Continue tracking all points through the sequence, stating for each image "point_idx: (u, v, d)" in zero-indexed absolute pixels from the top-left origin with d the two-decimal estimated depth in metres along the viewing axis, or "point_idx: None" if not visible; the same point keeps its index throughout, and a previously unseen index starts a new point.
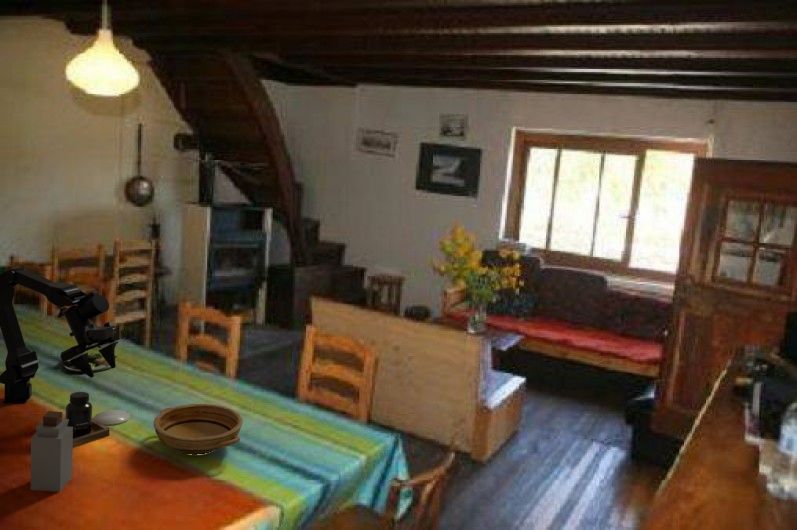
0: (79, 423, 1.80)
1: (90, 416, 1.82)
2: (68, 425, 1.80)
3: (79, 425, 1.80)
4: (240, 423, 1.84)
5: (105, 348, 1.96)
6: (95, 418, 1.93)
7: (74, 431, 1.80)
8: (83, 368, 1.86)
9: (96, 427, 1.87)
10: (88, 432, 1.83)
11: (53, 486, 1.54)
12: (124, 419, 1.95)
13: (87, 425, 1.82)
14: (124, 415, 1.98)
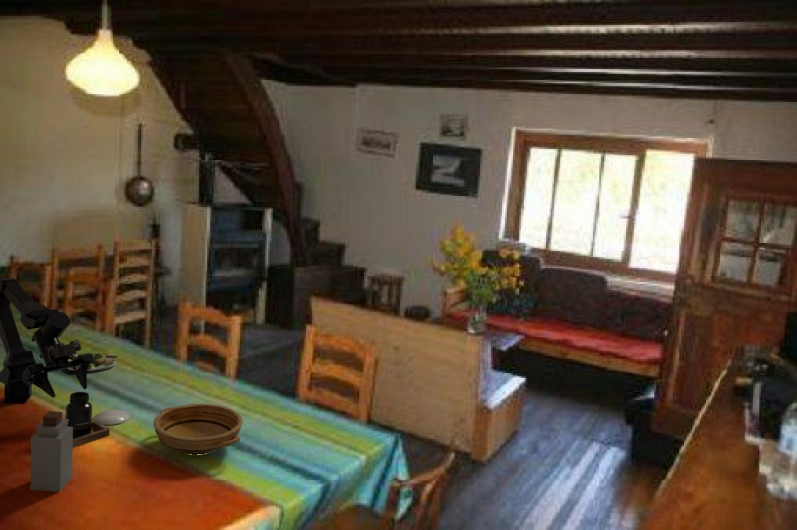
0: (79, 423, 1.80)
1: (90, 416, 1.82)
2: (68, 425, 1.80)
3: (79, 425, 1.80)
4: (240, 423, 1.84)
5: (78, 369, 1.90)
6: (95, 418, 1.93)
7: (74, 431, 1.80)
8: (45, 388, 1.80)
9: (96, 427, 1.87)
10: (88, 432, 1.83)
11: (53, 486, 1.54)
12: (124, 419, 1.95)
13: (87, 425, 1.82)
14: (124, 415, 1.98)
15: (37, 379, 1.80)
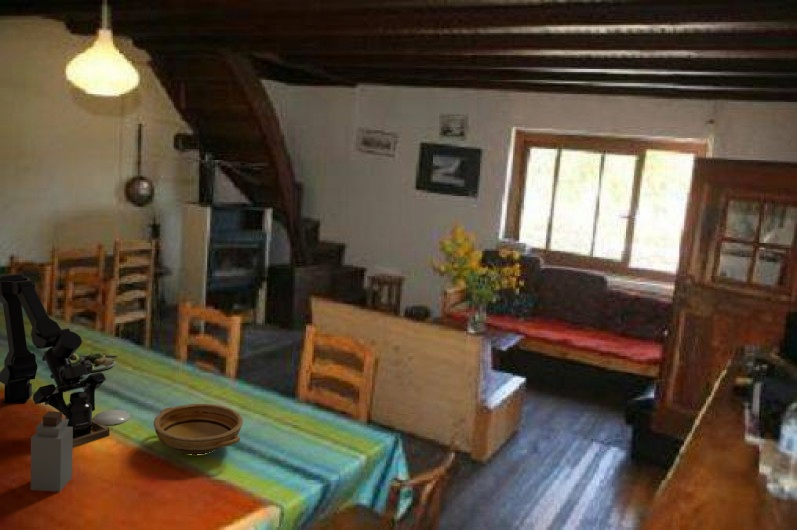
0: (79, 423, 1.80)
1: (90, 416, 1.82)
2: (68, 425, 1.80)
3: (79, 425, 1.80)
4: (240, 423, 1.84)
5: (86, 390, 1.87)
6: (95, 418, 1.93)
7: (74, 431, 1.80)
8: (60, 408, 1.79)
9: (96, 427, 1.87)
10: (88, 432, 1.83)
11: (53, 486, 1.54)
12: (124, 419, 1.95)
13: (87, 425, 1.82)
14: (124, 415, 1.98)
15: (52, 399, 1.79)
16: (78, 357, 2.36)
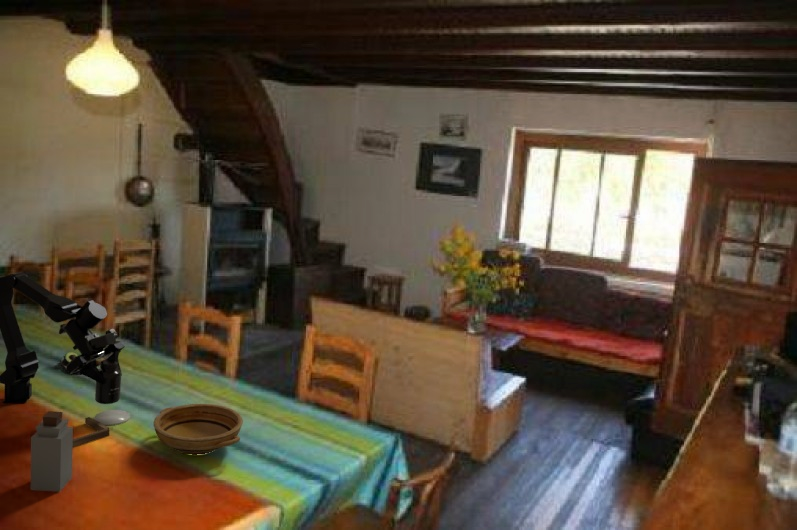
0: (113, 388, 1.89)
1: (120, 381, 1.92)
2: (102, 391, 1.88)
3: (113, 390, 1.90)
4: (240, 423, 1.84)
5: (109, 358, 1.95)
6: (95, 418, 1.93)
7: (108, 396, 1.89)
8: (94, 376, 1.87)
9: (96, 427, 1.87)
10: (119, 396, 1.93)
11: (53, 486, 1.54)
12: (124, 419, 1.95)
13: (119, 390, 1.92)
14: (124, 415, 1.98)
15: (85, 368, 1.86)
16: None
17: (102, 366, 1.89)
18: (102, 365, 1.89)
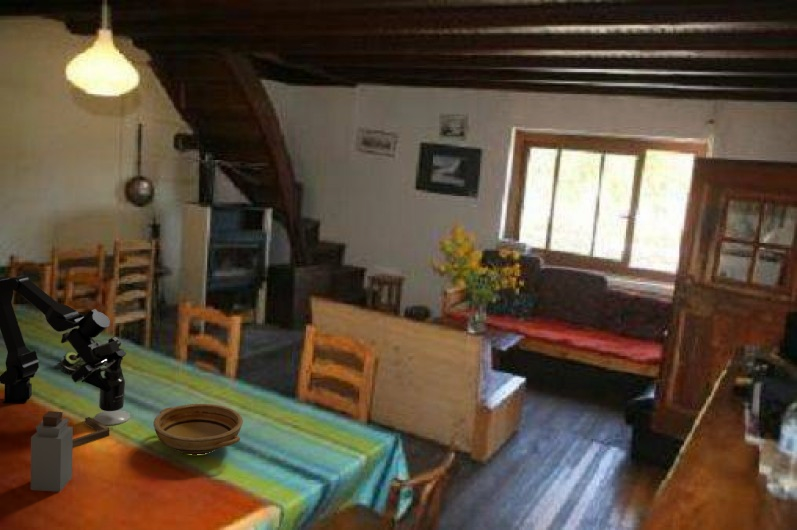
0: (117, 395, 1.92)
1: (124, 388, 1.95)
2: (107, 399, 1.91)
3: (118, 397, 1.92)
4: (240, 423, 1.84)
5: (111, 366, 1.98)
6: (95, 418, 1.93)
7: (113, 403, 1.92)
8: (99, 384, 1.90)
9: (96, 427, 1.87)
10: (123, 403, 1.95)
11: (53, 486, 1.54)
12: (124, 419, 1.95)
13: (123, 397, 1.95)
14: (124, 415, 1.98)
15: (90, 376, 1.88)
16: None
17: (106, 374, 1.91)
18: (106, 373, 1.91)
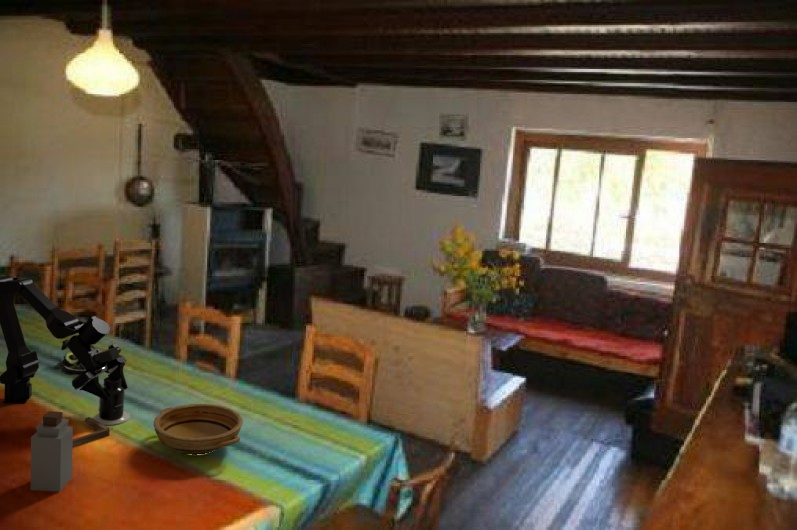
0: (117, 404, 1.93)
1: None
2: (106, 408, 1.92)
3: (117, 407, 1.93)
4: (240, 423, 1.84)
5: (114, 371, 1.99)
6: (95, 418, 1.93)
7: (113, 413, 1.92)
8: (97, 392, 1.89)
9: (96, 427, 1.87)
10: None
11: (53, 486, 1.54)
12: (124, 419, 1.95)
13: (122, 406, 1.95)
14: (124, 415, 1.98)
15: (88, 384, 1.88)
16: None
17: (106, 383, 1.92)
18: (106, 382, 1.92)
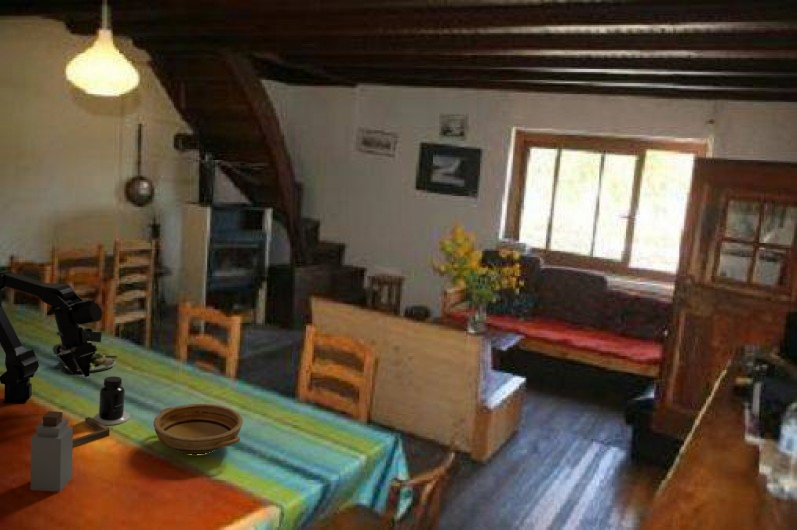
0: (117, 404, 1.93)
1: None
2: (106, 408, 1.92)
3: (117, 407, 1.93)
4: (240, 423, 1.84)
5: (68, 354, 2.00)
6: (95, 418, 1.93)
7: (113, 413, 1.92)
8: (84, 366, 1.93)
9: (96, 427, 1.87)
10: None
11: (53, 486, 1.54)
12: (124, 419, 1.95)
13: (122, 406, 1.95)
14: (124, 415, 1.98)
15: (83, 356, 1.92)
16: None
17: (106, 383, 1.92)
18: (106, 382, 1.92)
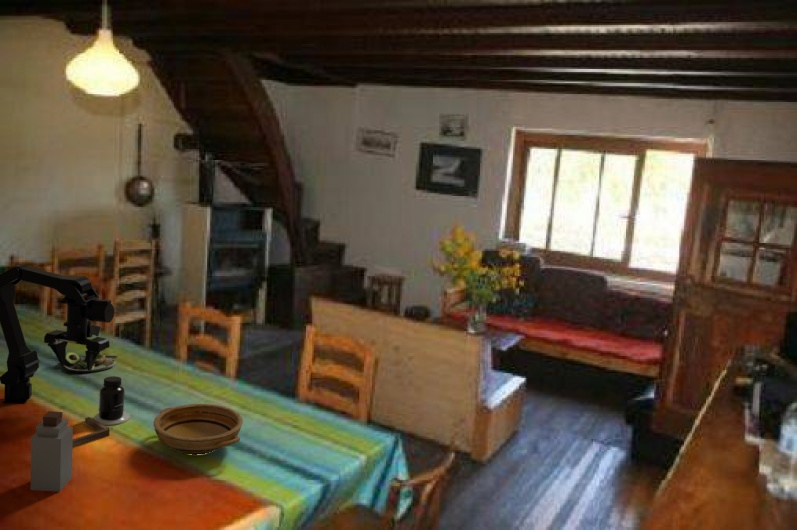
0: (117, 404, 1.93)
1: None
2: (106, 408, 1.92)
3: (117, 407, 1.93)
4: (240, 423, 1.84)
5: (61, 344, 1.98)
6: (95, 418, 1.93)
7: (113, 413, 1.92)
8: (91, 360, 1.96)
9: (96, 427, 1.87)
10: (122, 412, 1.96)
11: (53, 486, 1.54)
12: (124, 419, 1.95)
13: (122, 406, 1.95)
14: (124, 415, 1.98)
15: None
16: (78, 357, 2.36)
17: (106, 383, 1.92)
18: (106, 382, 1.92)
